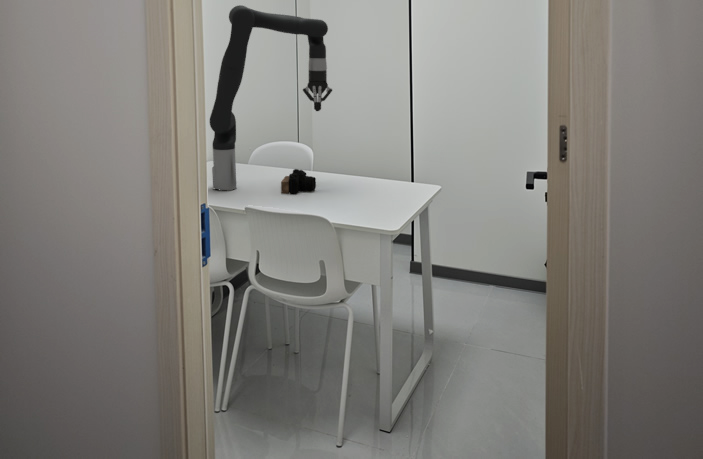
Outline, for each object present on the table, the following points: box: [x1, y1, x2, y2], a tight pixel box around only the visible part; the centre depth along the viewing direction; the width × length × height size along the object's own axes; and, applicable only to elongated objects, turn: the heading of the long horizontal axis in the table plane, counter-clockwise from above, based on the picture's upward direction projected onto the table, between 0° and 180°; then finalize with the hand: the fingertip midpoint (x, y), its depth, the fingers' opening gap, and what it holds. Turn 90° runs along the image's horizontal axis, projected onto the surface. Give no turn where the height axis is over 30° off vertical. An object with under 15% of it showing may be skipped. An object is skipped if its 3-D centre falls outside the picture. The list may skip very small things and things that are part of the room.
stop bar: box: [280, 175, 290, 195], centre depth 309 cm, size 3×11×5 cm, turn 175°
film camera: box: [288, 168, 317, 196], centre depth 308 cm, size 15×10×9 cm, turn 167°
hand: (317, 110), depth 311 cm, fingers closed
